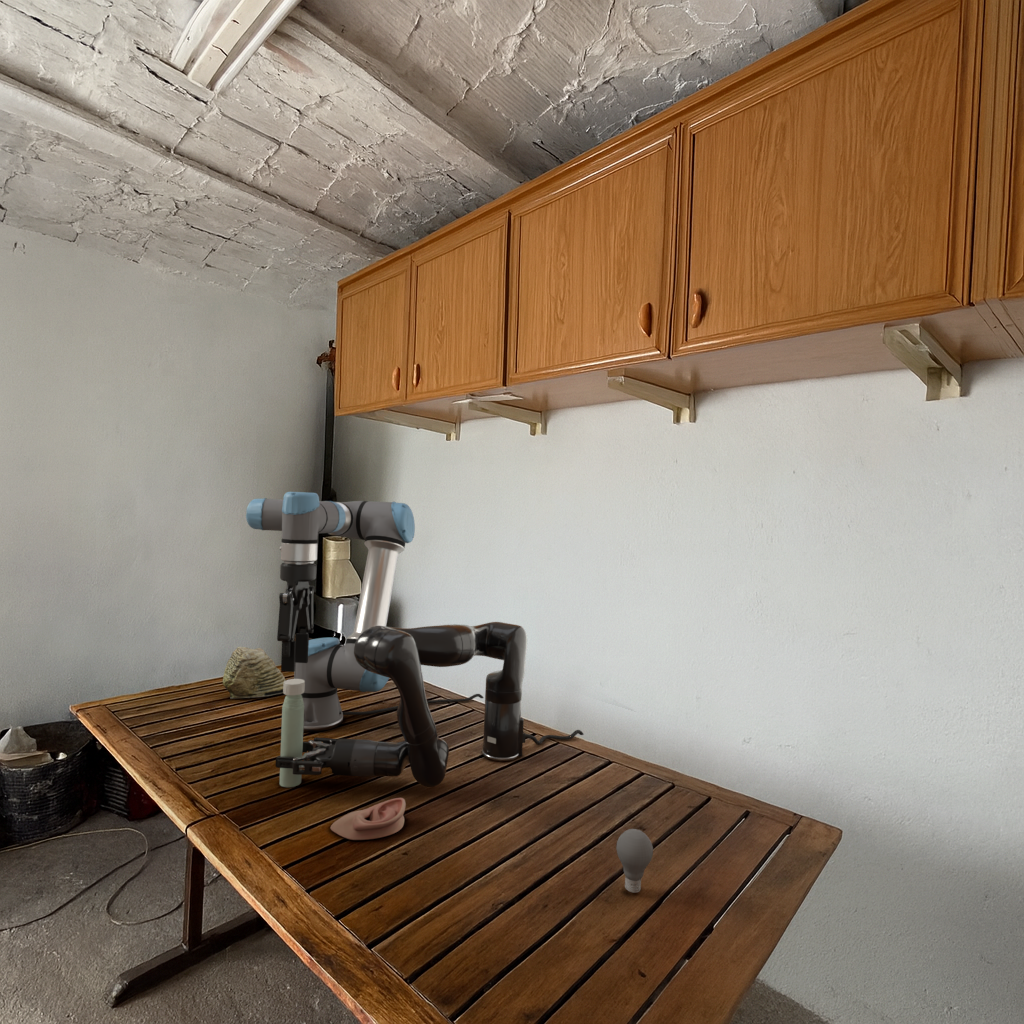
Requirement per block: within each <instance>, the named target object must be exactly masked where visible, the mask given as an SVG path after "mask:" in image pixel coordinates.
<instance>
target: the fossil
mask: <svg viewBox="0 0 1024 1024" xmlns="http://www.w3.org/2000/svg"><path fill="white" fill-rule="evenodd" d="M222 676H223V677H222V685H223V687H224V688H225V690H226V691H228V693H229V698H230V699H250V698H264V697H271V696H275V695H281V694H284V693H283V684H284V681H286V678H285V676H284V674H283V673H282V671H281V669H279V668H278V667H277V665H276V663H275V662H274V660H273V659H272V658H271V657H270V656H269V655H268V654H267V653H266V652H265V650H264V649H263V648H260V647H258V648H251V647H247V646H246V647H245V646H238V647H237V648H236V649H235V650H233V651H232V653H231V656H230V657H229V659H228V660H227V663H226V666H225V668H224V671H223V675H222Z"/></svg>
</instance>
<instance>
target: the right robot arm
mask: <svg viewBox="0 0 1024 1024" xmlns="http://www.w3.org/2000/svg"><path fill="white" fill-rule="evenodd" d="M527 653H528V633H527V630H526V629H525V628H524V626H522V625H520V624H514V623H508V622H502V621H491V622H485V623H481V624H477V625H468V624H455V623H454V624H439V625H428V626H418V627H410V628H409V627H408V628H405V627H403V628H402V627H392V626H387V625H386V626H374V627H371V628H369V629H367V630H365V631H364V632H363V633H362V634H361V635H360V636H359V637H358V639H357V641H356V643H355V646H354V656H355V659H356V661H357V662H358V664H359V665H360V666H361V667H363V668H364V669H366V670H367V671H370V672H372V673H376V674H379V675H382V676H385V677H389V679H390V680H391V681H392V682H393V683H394V685H395V687H396V689H397V690H398V692H399V702H398V705H397V706H398V709H396V710H397V711H396V719H397V724H398V727H399V730H400V732H401V734H402V738H403V739H404V740H402V741H399V742H392V741H377V740H371V739H358V738H356V739H355V738H332V737H331V738H330V737H317V736H316V737H314V738H313V739H312V740H311V739H310V740H308V741H303V752H302V753H304V754H302V756H299V757H295V758H294V757H285V756H280V755H279V756H276V758H275V767H276V768H277V769H280V768H292V769H293V774H296V775H302V776H320V775H322V773H323V771H322V770H323V769H327V768H329V769H331V773H332V774H333V776H345V777H346V776H347V777H392V778H394V777H395V778H396V777H399V776H400V775H402V773H403V772H404V771H405V768H406V767H407V766H408V765H409V767H410V771H411V774H412V776H413V778H414V780H415V781H416V783H418V784H419V785H421V786H423V787H425V788H429V789H430V788H435V787H438V786H439V785H440V784H442V782H443V781H444V779H445V777H446V774H447V767H448V760H449V756H450V747H449V744H448V743H447V742H446V741H445V740H444V739H442V738H440V737H438V729H437V725H436V723H435V721H434V717H433V715H432V712H431V709H430V707H429V704H428V703H427V701H428V699H427V696H426V691H425V682H424V676H423V670H422V666H426V667H437V668H449V667H455V666H461V665H465V664H467V663H468V662H470V661H471V660H472V659H473V658H474V657H477V656H478V657H486V658H491V659H495V660H500V661H503V665H502V669H501V670H496V671H495V670H494V671H491V672H489V673H488V674H487V675H486V676H485V690H484V715H483V716H484V717H483V738H482V739H483V740H482V750H481V751H482V753H481V754H482V756H483V757H485V758H486V759H488V760H490V761H494V762H509V761H510V762H511V761H514V760H516V759H518V758H520V757H522V756H523V747H524V746H523V744H525V743H526V739H528V740H532V742H534V744H535V745H538V746H539V745H542V744H543V742H544V741H546V740H549V739H550V740H557V741H558V740H559V741H569V740H572V739H573V738H575V737H576V736H577V735H579V736H584V732H583V731H582V730H581V729H575V730H574V731H573V732H572V733H570V734H569V735H565V736H563V735H555V734H546V735H543V736H541V737H540V738H539V740H538V739H537V737H535V735H532V734H529V733H526V732H525V731H524V724H525V723H524V721H525V720H524V718H523V717H522V698H523V697H522V695H523V681H524V677H525V674H526V673H525V672H526V663H527ZM570 736H571V737H570ZM301 760H302V761H301ZM301 769H302V770H301Z"/></svg>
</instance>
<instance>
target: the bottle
mask: <svg viewBox="0 0 1024 1024" xmlns="http://www.w3.org/2000/svg"><path fill="white" fill-rule="evenodd" d="M303 726H304V703H303V698H302V695H301V694H300V695H285V697H284V700H283V704H282V706H281V731H280V755H279V756H285V757H294V758H295V757H299V756H303V753H304V752H303V742H304V732H303ZM301 761H303V760H301ZM301 770H303V769H301ZM302 776H303V775H296V774H293V769H292V768H279V781H278V782H279V786H280V787H283V788H295V787H296V786H299V785H300V784H302V779H303V777H302Z"/></svg>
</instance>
